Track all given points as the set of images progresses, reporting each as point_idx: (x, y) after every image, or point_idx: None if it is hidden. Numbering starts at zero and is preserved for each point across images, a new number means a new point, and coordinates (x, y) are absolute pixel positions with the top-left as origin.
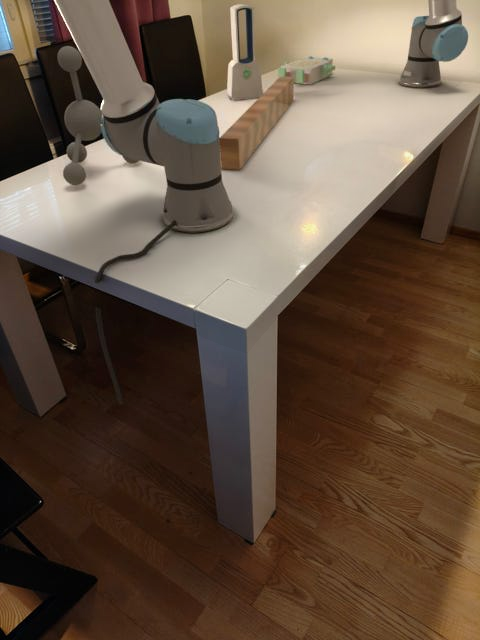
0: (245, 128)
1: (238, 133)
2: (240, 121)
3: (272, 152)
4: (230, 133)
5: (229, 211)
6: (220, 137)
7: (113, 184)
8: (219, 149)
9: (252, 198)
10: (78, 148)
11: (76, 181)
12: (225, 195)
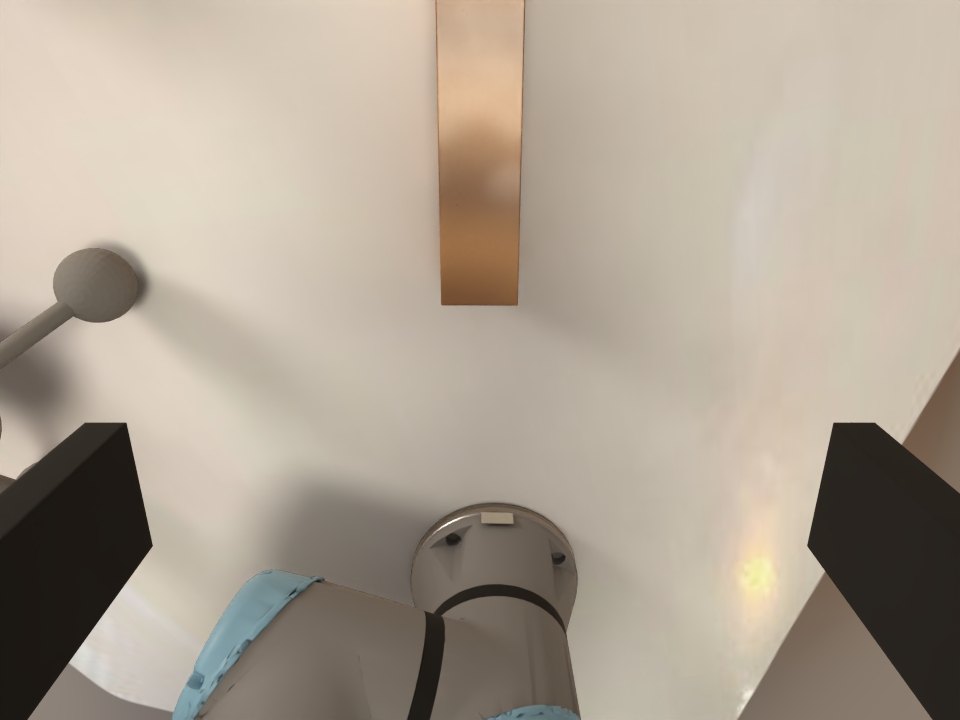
0: (511, 171)
1: (500, 241)
2: (460, 66)
3: (592, 73)
4: (467, 245)
5: (576, 592)
6: (443, 297)
7: (165, 440)
8: (576, 694)
9: (599, 460)
10: (3, 488)
11: None
12: (570, 608)
